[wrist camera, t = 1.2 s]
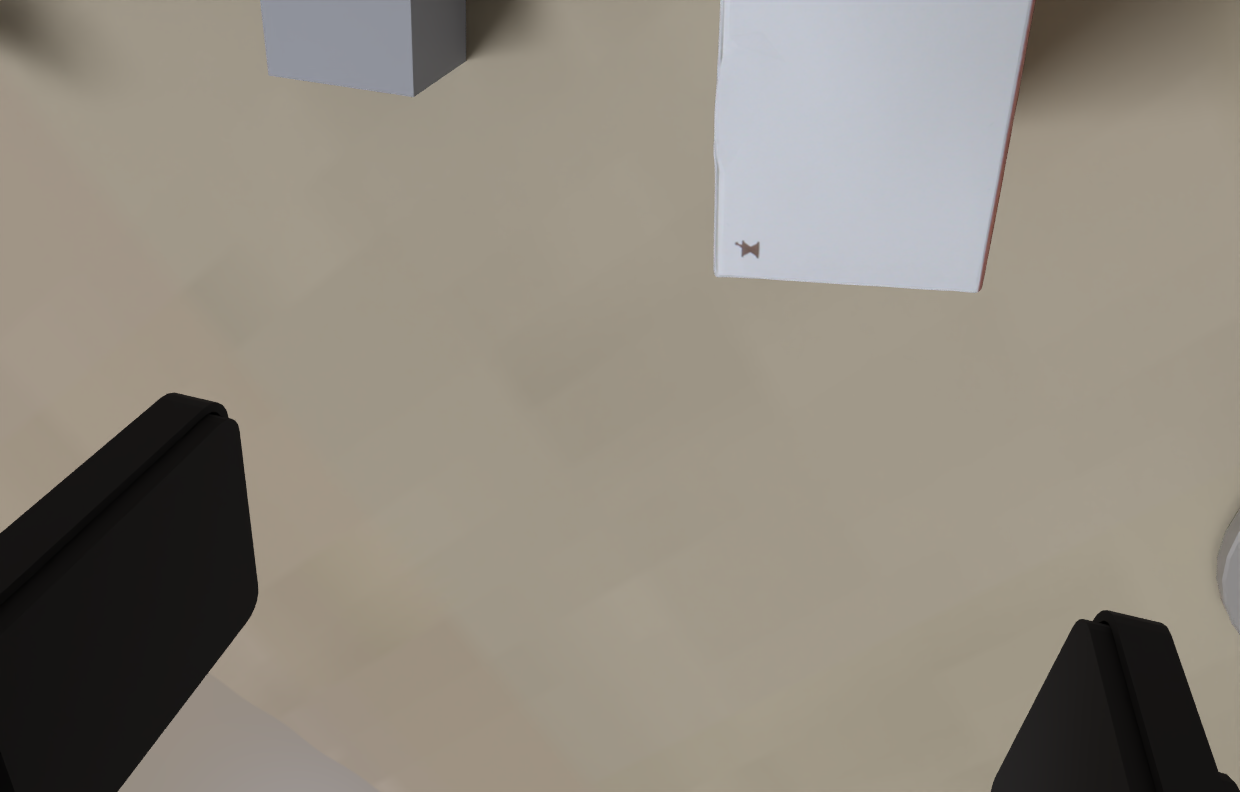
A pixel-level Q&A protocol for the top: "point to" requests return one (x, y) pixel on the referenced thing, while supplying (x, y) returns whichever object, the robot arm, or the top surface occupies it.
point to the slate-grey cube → (365, 42)
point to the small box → (864, 138)
